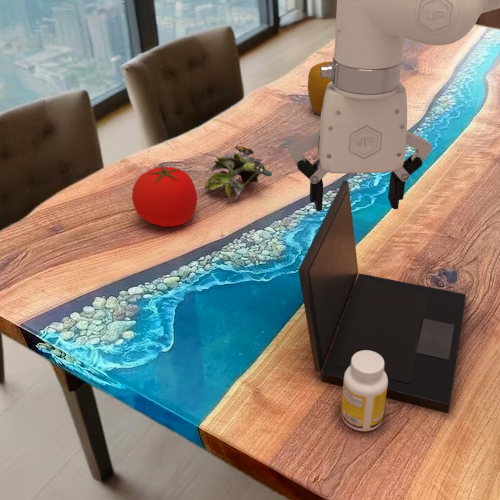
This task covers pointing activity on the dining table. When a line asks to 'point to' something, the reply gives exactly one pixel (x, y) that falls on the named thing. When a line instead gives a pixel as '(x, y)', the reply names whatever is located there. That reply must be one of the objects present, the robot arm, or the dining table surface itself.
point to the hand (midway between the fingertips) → (355, 204)
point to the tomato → (165, 196)
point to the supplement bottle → (364, 391)
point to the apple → (317, 87)
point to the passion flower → (236, 171)
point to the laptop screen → (329, 275)
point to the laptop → (402, 338)
